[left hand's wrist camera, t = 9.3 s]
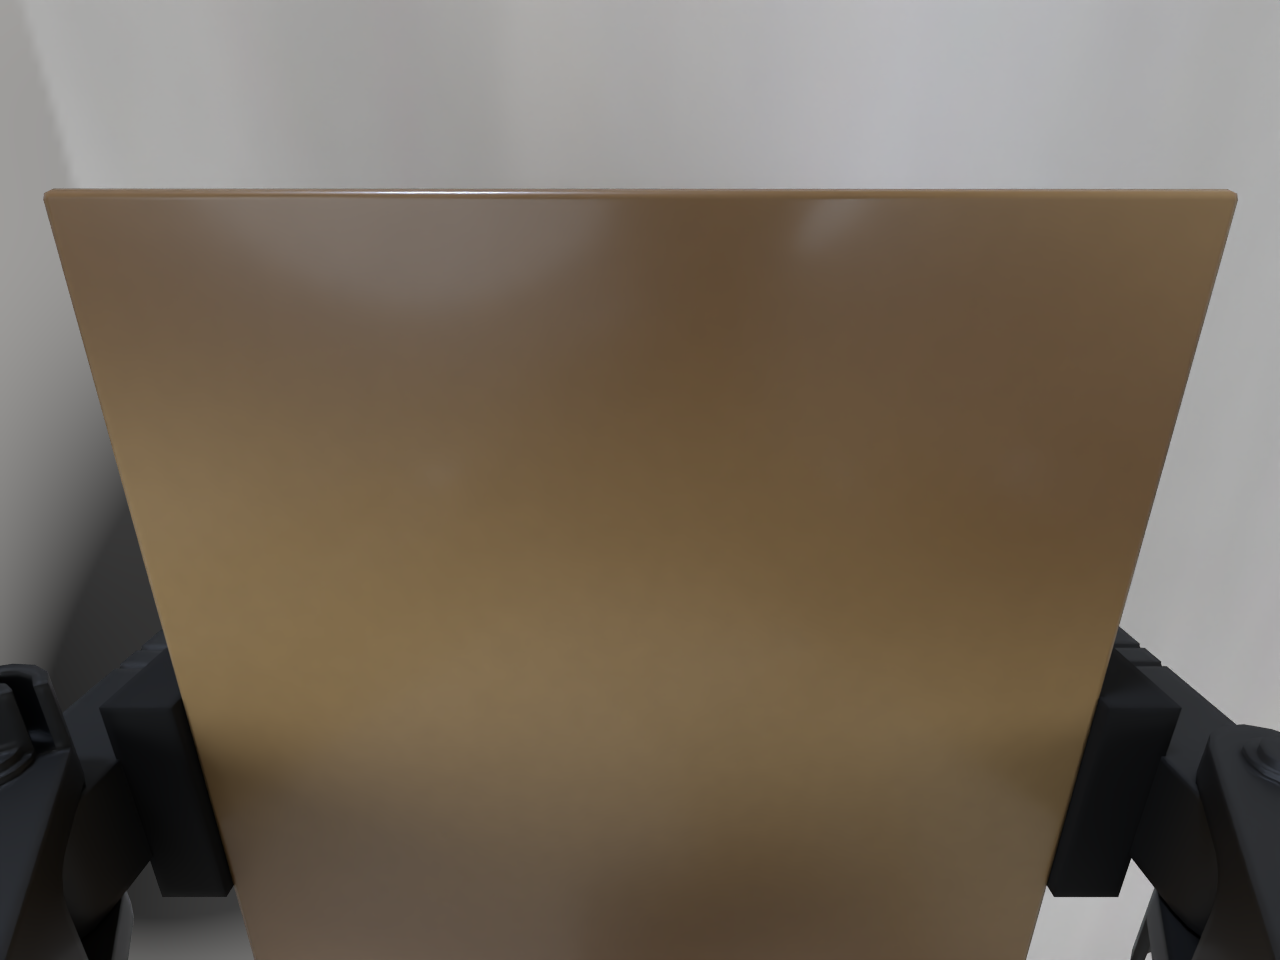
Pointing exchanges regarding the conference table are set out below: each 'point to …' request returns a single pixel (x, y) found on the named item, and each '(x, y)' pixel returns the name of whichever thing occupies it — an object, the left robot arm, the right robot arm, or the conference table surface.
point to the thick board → (640, 546)
